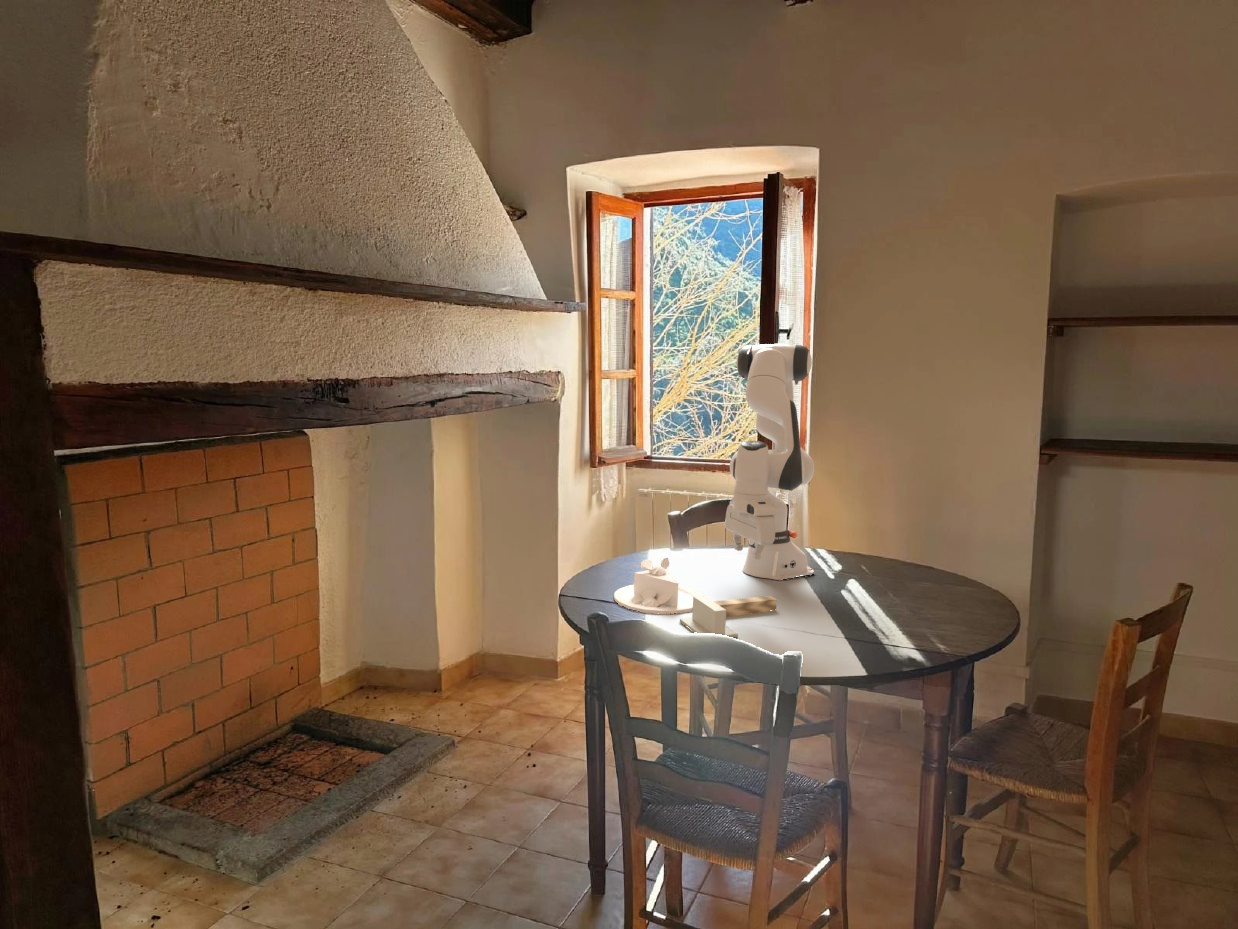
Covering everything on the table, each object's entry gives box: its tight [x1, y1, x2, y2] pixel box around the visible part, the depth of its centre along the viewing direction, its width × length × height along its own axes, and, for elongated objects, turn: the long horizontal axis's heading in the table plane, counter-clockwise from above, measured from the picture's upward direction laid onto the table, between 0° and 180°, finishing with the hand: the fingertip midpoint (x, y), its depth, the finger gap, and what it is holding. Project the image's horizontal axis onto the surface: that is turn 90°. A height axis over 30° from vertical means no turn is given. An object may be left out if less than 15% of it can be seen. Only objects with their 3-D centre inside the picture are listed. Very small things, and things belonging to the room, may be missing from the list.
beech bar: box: [712, 595, 778, 617], centre depth 221 cm, size 18×4×4 cm, turn 112°
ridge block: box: [679, 595, 739, 639], centre depth 206 cm, size 9×14×7 cm, turn 21°
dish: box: [613, 557, 703, 615], centre depth 229 cm, size 25×25×11 cm
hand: (747, 554), depth 219 cm, fingers open, 8 cm apart
